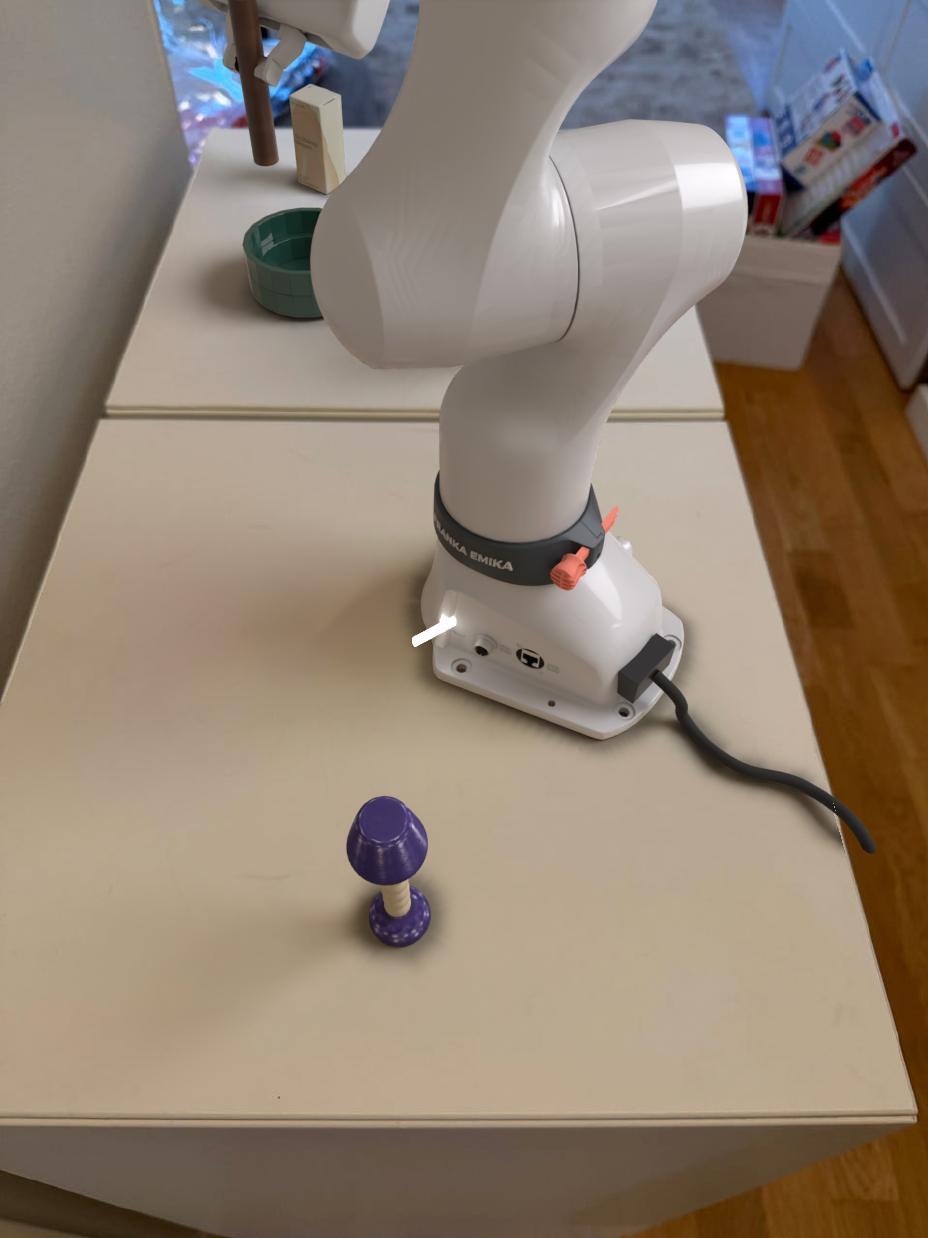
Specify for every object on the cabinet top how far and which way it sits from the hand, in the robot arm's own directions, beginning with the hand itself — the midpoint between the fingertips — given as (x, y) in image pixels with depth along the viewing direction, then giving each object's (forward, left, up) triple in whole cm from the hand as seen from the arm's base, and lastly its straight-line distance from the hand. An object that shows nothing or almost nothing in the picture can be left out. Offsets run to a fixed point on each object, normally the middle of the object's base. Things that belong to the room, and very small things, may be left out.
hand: (248, 76), depth 82 cm
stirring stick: (0, -1, -8) cm, 8 cm away
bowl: (+3, -7, -26) cm, 27 cm away
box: (+17, -26, -26) cm, 40 cm away
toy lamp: (-50, +46, -26) cm, 73 cm away
